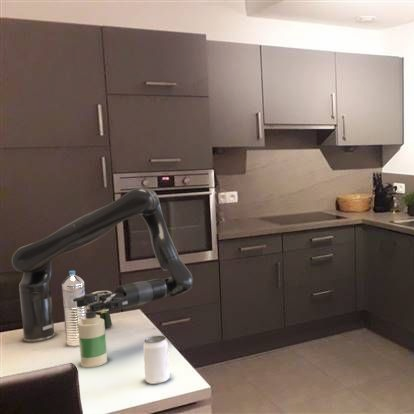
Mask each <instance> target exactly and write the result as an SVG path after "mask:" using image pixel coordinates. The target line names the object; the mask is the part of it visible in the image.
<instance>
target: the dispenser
mask: <svg viewBox="0 0 414 414" xmlns="http://www.w3.org/2000/svg"><path fill="white" fill-rule="evenodd" d="M78 329H79V344H80V345H79V356H80V365H81V366H82V367H83V368H94V367H95V368H96V367H99V366H102V365H104V364H106V363H107V362H108V349H107V348H108V347H107V335H106V326H105V322H104V319H102V318H100V315H96V312H90V310H89V311H87V312H86V316H85V317H83V318H82V321H81V322H79V323H78Z"/></svg>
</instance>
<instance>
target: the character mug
mask: <svg viewBox="0 0 414 414" xmlns="http://www.w3.org/2000/svg"><path fill="white" fill-rule="evenodd" d="M105 291H106V292H111V291H110V290H98V291H94V292H92V293H93V294H96V293H101V292H105ZM95 300H96V298H95ZM100 302H101V301H100ZM86 308H87V309H86V310H90V308H88V305H87V306H86ZM96 315H100V318H102V319H104V322H105V328H110V327H112V325H113V322H112V317H111V314H110V311H109V309H108V310H104V309H103V310H100V311H96Z"/></svg>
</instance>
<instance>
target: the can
mask: <svg viewBox="0 0 414 414" xmlns="http://www.w3.org/2000/svg"><path fill="white" fill-rule="evenodd" d="M142 347H143V363H144V377H145V379H144V380H145V382H146V383H147V384H150V385H159V384H163V383H165V382H167V381H168V380H169V379H170V377H171V376H170V375H171V373H170V358H169V357H170V356H169V344H168V340H167V337H166V335H153V336H149V337H147V338H145V339H144V343H143V346H142Z"/></svg>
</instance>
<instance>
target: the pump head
mask: <svg viewBox="0 0 414 414" xmlns="http://www.w3.org/2000/svg"><path fill="white" fill-rule="evenodd" d="M79 300H84V303H85V304H88V308H90V307H89V306H90V305H92V303H94V302H95V294H93V292H91V293H85V295H84V296H83V297H79V298H74V299H73V301H79Z"/></svg>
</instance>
